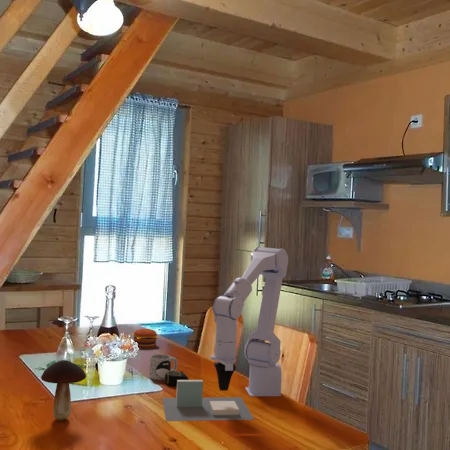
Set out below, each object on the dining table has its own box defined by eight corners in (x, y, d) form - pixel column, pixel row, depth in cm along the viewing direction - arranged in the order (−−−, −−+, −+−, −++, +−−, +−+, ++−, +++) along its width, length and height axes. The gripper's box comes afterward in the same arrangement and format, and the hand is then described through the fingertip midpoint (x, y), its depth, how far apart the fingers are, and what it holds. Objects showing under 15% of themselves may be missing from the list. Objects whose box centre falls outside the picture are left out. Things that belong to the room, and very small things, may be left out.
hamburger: (129, 343, 231) (130, 327, 230) (152, 342, 235) (153, 326, 235) (136, 349, 222) (137, 331, 222) (160, 347, 226) (161, 330, 226)
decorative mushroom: (47, 411, 151) (50, 354, 150) (89, 413, 150) (91, 356, 150) (32, 426, 140) (34, 365, 139) (77, 429, 139) (79, 367, 139)
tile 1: (234, 400, 160) (239, 409, 153) (234, 406, 160) (238, 415, 153) (209, 401, 158) (213, 409, 151) (209, 406, 158) (212, 415, 152)
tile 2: (201, 404, 160) (202, 379, 160) (201, 406, 158) (203, 381, 158) (176, 405, 159) (177, 379, 158) (176, 407, 157) (177, 381, 157)
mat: (240, 398, 168) (241, 397, 168) (254, 421, 150) (254, 419, 150) (161, 399, 164) (162, 397, 164) (166, 422, 146) (166, 420, 146)
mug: (157, 381, 181) (158, 360, 181) (145, 376, 186) (146, 355, 186) (182, 376, 188) (183, 356, 188) (170, 371, 193) (171, 352, 193)
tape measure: (188, 387, 177) (189, 375, 177) (166, 388, 175) (167, 376, 174) (183, 381, 183) (184, 369, 183) (162, 382, 181) (162, 370, 181)
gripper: (207, 334, 164) (205, 381, 164) (215, 346, 149) (212, 398, 149) (232, 334, 165) (229, 381, 165) (241, 346, 150) (239, 398, 151)
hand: (223, 389), depth 157 cm, fingers closed
